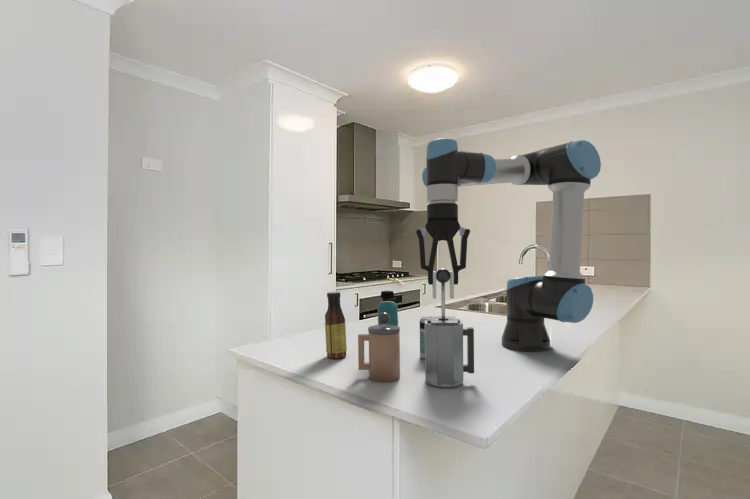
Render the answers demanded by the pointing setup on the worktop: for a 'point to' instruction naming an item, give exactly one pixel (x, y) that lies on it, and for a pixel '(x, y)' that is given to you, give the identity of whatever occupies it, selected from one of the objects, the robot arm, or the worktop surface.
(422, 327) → the beer can
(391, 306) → the beverage bottle
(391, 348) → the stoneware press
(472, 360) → the steel carafe
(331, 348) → the sauce bottle
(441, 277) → the plunger
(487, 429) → the worktop surface
